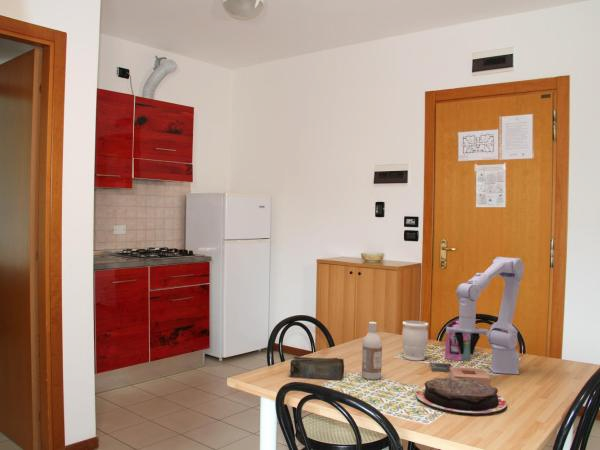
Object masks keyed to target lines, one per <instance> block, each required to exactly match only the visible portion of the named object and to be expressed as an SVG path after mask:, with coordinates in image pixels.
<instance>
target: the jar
mask: <svg viewBox="0 0 600 450" xmlns="http://www.w3.org/2000/svg"><path fill="white" fill-rule="evenodd" d="M402 325H403V327H402V333H401V340H402V341H401V342H402V348H403V351H404V355H403V356H404V359H406V360H407V361H408V360H409V361H417V362H418V361H424V360H425V359H426V357H425V353H426V351H427V347H428V342H429V332H428V327H429V322H426V321H422V320H420V321H419V320H404V321H402Z"/></svg>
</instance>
